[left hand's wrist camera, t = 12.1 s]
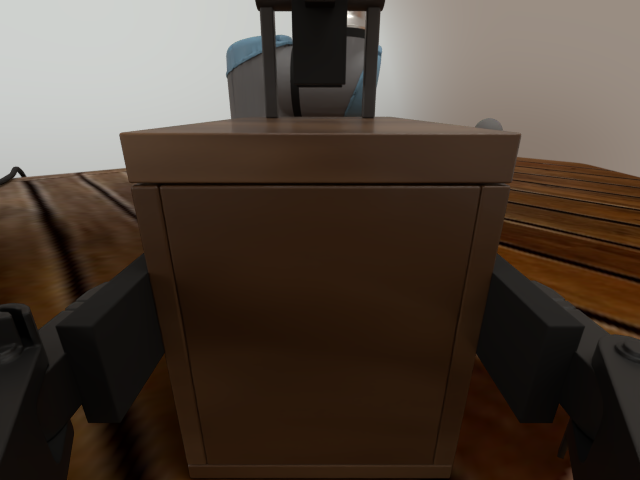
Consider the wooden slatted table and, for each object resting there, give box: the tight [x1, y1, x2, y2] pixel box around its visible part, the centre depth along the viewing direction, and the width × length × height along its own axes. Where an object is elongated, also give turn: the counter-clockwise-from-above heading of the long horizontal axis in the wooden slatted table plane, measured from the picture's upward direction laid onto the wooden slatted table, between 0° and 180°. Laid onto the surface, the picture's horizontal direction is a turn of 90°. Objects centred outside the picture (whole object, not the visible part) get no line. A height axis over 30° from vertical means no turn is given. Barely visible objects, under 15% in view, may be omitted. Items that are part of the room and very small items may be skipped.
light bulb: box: [475, 118, 503, 131], centre depth 77 cm, size 6×6×10 cm
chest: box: [131, 183, 510, 478], centre depth 17 cm, size 15×9×11 cm, turn 0°
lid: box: [120, 0, 521, 183], centre depth 14 cm, size 16×9×9 cm, turn 0°
